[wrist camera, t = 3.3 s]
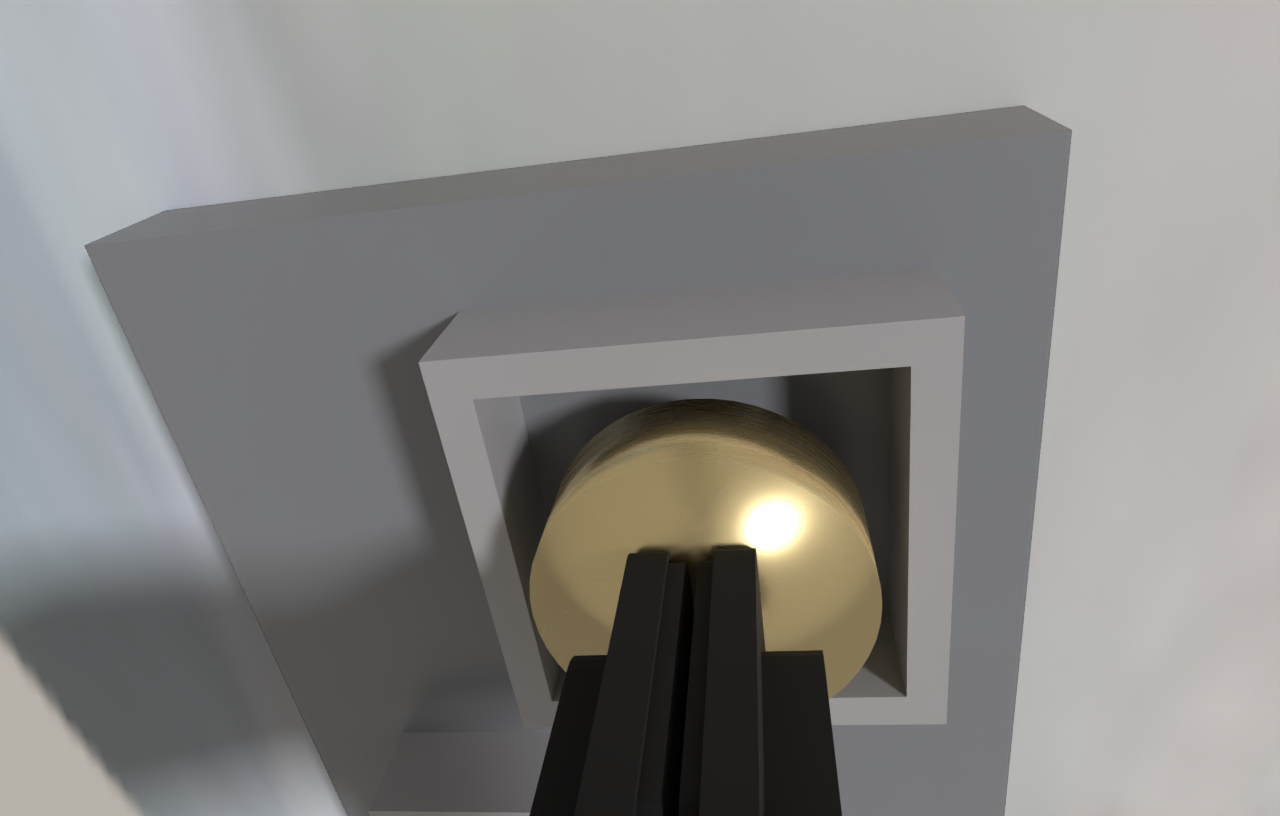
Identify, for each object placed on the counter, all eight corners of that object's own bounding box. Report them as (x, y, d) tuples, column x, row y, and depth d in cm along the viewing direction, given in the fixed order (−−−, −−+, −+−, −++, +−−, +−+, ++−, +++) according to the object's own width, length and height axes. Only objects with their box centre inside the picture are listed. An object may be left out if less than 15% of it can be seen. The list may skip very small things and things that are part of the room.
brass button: (525, 410, 12) (495, 473, 10) (864, 386, 11) (881, 449, 9) (581, 654, 14) (563, 733, 12) (867, 647, 13) (883, 731, 12)
